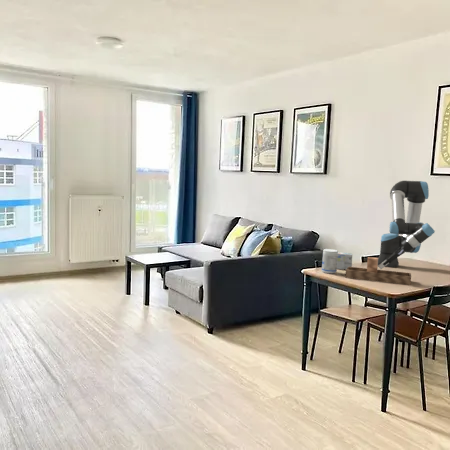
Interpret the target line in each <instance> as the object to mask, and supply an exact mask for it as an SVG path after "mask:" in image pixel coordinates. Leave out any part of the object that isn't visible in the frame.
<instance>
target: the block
mask: <svg viewBox="0 0 450 450" xmlns="http://www.w3.org/2000/svg"><path fill="white" fill-rule="evenodd" d="M378 258H379V257H372V256H368V257H367V261H366V262H367V264H366V268H367V272H374V273H377V270H378V268H379V267H378Z"/></svg>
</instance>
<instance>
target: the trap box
mask: <svg viewBox="0 0 450 450" xmlns="http://www.w3.org/2000/svg"><path fill="white" fill-rule="evenodd" d="M345 278H346V279H353V280H354V279H355V280H364V281H372V282H380V283H381V282H382V283H388V284H389V283H390V284H399V285H406V286H407V285H408V286H411V283H412V282H411V281H412V273H411V272H403V271H395V270H383V269H377V273H374V272H367V267H357V266H352V267H348V268H347V269H346V270H345Z"/></svg>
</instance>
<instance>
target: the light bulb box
mask: <svg viewBox="0 0 450 450" xmlns="http://www.w3.org/2000/svg"><path fill="white" fill-rule="evenodd" d="M348 267H353V253H351V252H338V259H337V270H344V269H345V270H344V271H346V269H347V268H348Z"/></svg>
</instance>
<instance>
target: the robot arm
mask: <svg viewBox="0 0 450 450" xmlns="http://www.w3.org/2000/svg"><path fill="white" fill-rule="evenodd" d="M429 191H430V189H429V184H428V182H427V181H422V180H400V181H397V182H396V183H395V184H394V185H393V186H391V188H390V192H389V198H390V200H391V207H392V208H391V214H392V221H391V222H389V233H383V234H382V235H381V238H380V247H379V248H380V249H379V250H380V251H379V256H378V257H377V258H378V267H377V268H379V270H383V269H384V268H385V267H386V268H397V267H399V264H400V263H399V259H398V257H400V256H402V255H403V254H405V253H410V254H413V253H415V254H416V253H418V252H419V251H420V249H421V247H422V243H424V242H425V241H426V240H427V239H429V238H430V237H431V236H432V235H434V234H435V232H436V230H434V228H433V227H432V226H431V225H430V224H429V223H428V222H426V223H423V222H420V221H421V214H422V208H423V204H424V203H425V202H426V200H428V199H429V196H430V195H429V194H430V193H429ZM405 199H406V200H407V202H408V207H407V215H406V214H405V213H406V212H405Z"/></svg>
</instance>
